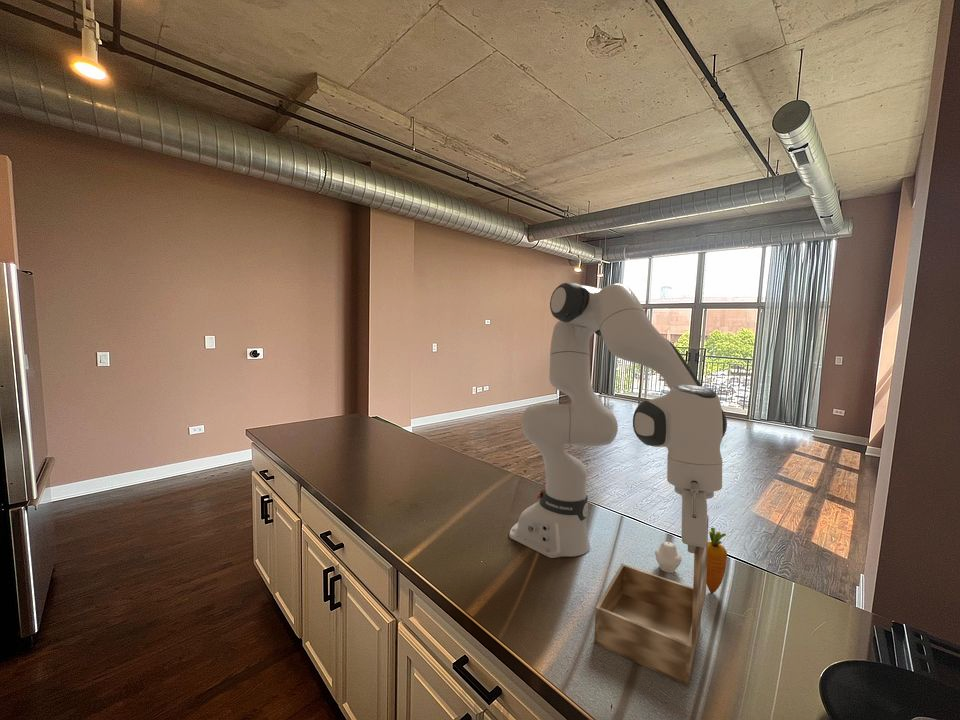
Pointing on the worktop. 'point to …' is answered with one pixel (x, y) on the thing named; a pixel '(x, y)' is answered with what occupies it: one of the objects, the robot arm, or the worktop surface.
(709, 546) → the carrot
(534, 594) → the worktop surface
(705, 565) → the lid
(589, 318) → the robot arm
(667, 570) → the white rounded figure
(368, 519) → the worktop surface
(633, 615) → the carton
